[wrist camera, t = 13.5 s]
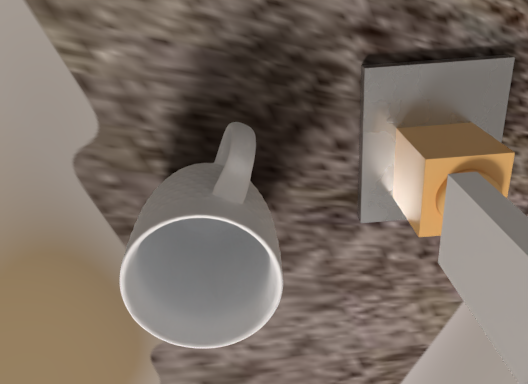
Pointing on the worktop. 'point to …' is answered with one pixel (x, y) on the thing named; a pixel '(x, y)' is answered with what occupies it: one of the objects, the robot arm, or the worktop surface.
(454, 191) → the robot arm
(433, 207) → the cube with dome top
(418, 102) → the plate with brass peg
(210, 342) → the mug
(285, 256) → the worktop surface
